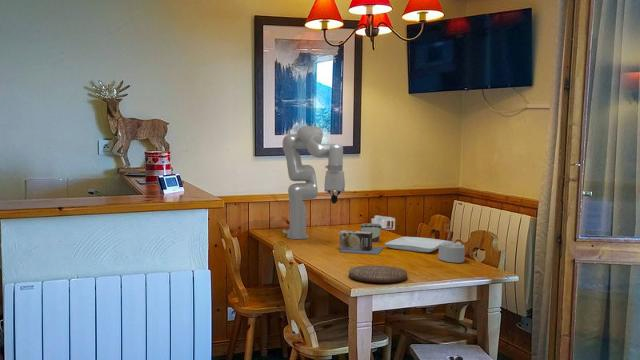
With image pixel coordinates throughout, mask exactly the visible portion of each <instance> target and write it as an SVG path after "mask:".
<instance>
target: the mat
mask: <svg viewBox="0 0 640 360" xmlns="http://www.w3.org/2000/svg"><path fill="white" fill-rule="evenodd" d="M384 249H385V247H384V246H375V245H374V246H373V245H372V249H371V250H370V251H362V250H349V249H340V250H339V251H338V253H341V254H342V253H344V254H346V253H347V254H358V255H359V254H360V255H373V256H375V255H376V256H378V255H379V254H380V253H381V252H382V251H383V250H384Z"/></svg>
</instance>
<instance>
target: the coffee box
mask: <svg viewBox="0 0 640 360" xmlns="http://www.w3.org/2000/svg"><path fill="white" fill-rule="evenodd" d="M372 246H373V243H372V232H361V230H360V231H358V230H346V229H345V230H340V231H339V249H340V250H341V249H349V250H362V251H370V250H371V249H372Z"/></svg>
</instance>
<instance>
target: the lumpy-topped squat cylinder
mask: <svg viewBox="0 0 640 360" xmlns="http://www.w3.org/2000/svg"><path fill="white" fill-rule="evenodd" d="M445 241H446V242H443V243H441V244H439V248H438V260H440V261H443V262H448V263H458V264H459V263H464V262H465V254H466V253H465V251H466V247H465V245H464V244H462V242H460V241H456V242H454V241H452V240H445ZM447 241H448V242H447Z"/></svg>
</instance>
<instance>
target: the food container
mask: <svg viewBox="0 0 640 360" xmlns="http://www.w3.org/2000/svg"><path fill="white" fill-rule="evenodd" d="M359 229H360V231H361V232H372V244H380V238H381V232H382V231H381V230H383V229H382V226H381V225H380V224H371V222H370V223H361V224H360V227H359Z"/></svg>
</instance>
